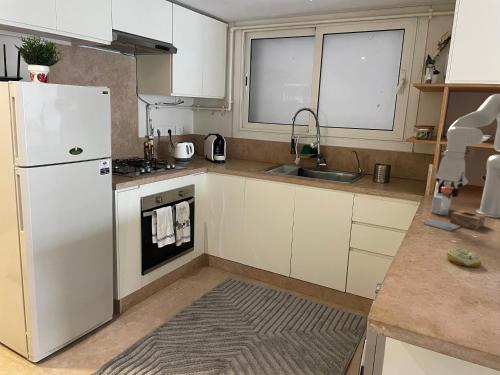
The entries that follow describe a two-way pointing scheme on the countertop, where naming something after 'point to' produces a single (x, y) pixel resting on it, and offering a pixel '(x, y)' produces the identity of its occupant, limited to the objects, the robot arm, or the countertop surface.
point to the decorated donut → (464, 257)
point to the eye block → (467, 219)
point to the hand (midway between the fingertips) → (447, 194)
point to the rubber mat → (442, 225)
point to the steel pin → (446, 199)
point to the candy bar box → (447, 183)
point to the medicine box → (436, 205)
